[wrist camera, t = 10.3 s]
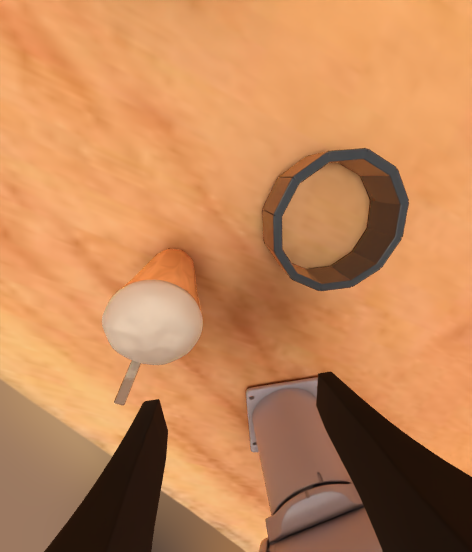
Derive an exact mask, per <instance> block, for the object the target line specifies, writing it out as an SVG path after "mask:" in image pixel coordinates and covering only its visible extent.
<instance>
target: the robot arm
mask: <svg viewBox="0 0 472 552" xmlns="http://www.w3.org/2000/svg"><path fill="white" fill-rule="evenodd" d="M250 396H251V397H250ZM246 400H247V412H248V424H249V436H250V447H251V451H252V452H259V456H260V461H261V466H262V471H263V476H264V481H265V486H266V491H267V496H268V501H269V506H270V511H271V517H269V518H266V520H265V521H266V527H267V532H268V538H265V539H264V540H263V541H262V542H261V545H260V549H259V552H472V477H471V476H469V475H467V474H466V473H464V472H463V471H461V470H459V469H458V468H456V467H454V466H453V465H451V464H450V463H448V462H446V461H445V460H443V459H442V458H440V457H439V456H437V455H435V454H434V453H432V452H431V451H429V450H428V449H427V448H425V447H424V446H422V445H421V444H419V443H418V442H416V441H415V440H414V439H412V438H411V437H409V436H408V435H407V434H405V433H404V432H403V431H401V430H400V429H399V428H397V427H396V426H395V425H393V424H392V423H391V422H390V421H388V420H387V419H386V418H384V417H383V416H382V415H381V414H379V413H378V412H377V411H376V410H375V409H373V408H372V407H371V406H370V405H369V404H367V403H366V402H365V401H364V400H363V399H362V398H360V397H359V396H358V395H357V394H356V393H355V392H354V391H352V390H351V389H350V388H349V387H348V386H347V385H346V384H345V383H343V382H342V381H341V380H340V379H339V378H338V377H337V376H336V375H335V374H333V373H332V372H325V373H319V374H318V377H315V378H308V379H302V380H296V381H290V382H283V383H277V384H271V385H264V386H258V387H252V388H248V389H247V390H246ZM167 437H168V429H167V426H166V422H165V419H164V415H163V411H162V408H161V404H160V401H159V399H157V400H151V401H145V402H144V403H143V404H142V406H141V408H140V410H139V412H138V414H137V415H136V417H135V419H134V421H133V423H132V425H131V426H130V428H129V430H128V432H127V433H126V435H125V437H124V438H123V440H122V442H121V443H120V445H119V447H118V448H117V450H116V452H115V453H114V455H113V457H112V458H111V460H110V462H109V463H108V464H107V466H106V468H105V469H104V471H103V472H102V474H101V475H100V477H99V478H98V480H97V481H96V483H95V484H94V486H93V487H92V489H91V490H90V492H89V493H88V495H87V496H86V497H85V499H84V500H83V501H82V503H81V504H80V506H79V507H78V508H77V510H76V511H75V512H74V514H73V515H72V516H71V518H70V519H69V521H68V522H67V523H66V525H65V526H64V527H63V528H62V530H61V531H60V532H59V533H58V535H57V536H56V537H55V539H54V540H53V541H52V543H51V544H50V545H49V546H48V548H47V549H46V550H45V551H44V552H151V549H152V540H153V533H154V526H155V520H156V514H157V508H158V502H159V497H160V491H161V485H162V479H163V473H164V467H165V461H166V452H167Z"/></svg>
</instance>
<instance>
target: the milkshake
mask: <svg viewBox="0 0 472 552" xmlns="http://www.w3.org/2000/svg"><path fill="white" fill-rule="evenodd" d="M102 326H103V329H104V332H105V334H106V336H107V339H108V341H109V343H110V345H111V346H112V348H113V349H114V350H115V351H117V352H118V353H119V354H121V355H123V356H124V357H126V358H128V359H130V360H132V361H131V363H130V365H129V368H128V370H127V372H126V375H125V377H124V379H123V382H122V384H121V386H120V389H119V391H118V393H117V396H116V398H115V401H114V403H116V404H120V405H124V404H125V402H126V400H127V397H128V395H129V392H130V390H131V387H132V385H133V382H134V380H135V377H136V375H137V372H138V369H139V367H140V364H141V363H143V364H150V365H163V364H167V363H170V362H172V361H175V360H177V359H179V358H181V357H183V356H184V355H186V354H187V353H188V352H190V350H191V349H192V348H193V347H194V346H195V344H196V343H197V341H198V340H199V338H200V336H201V333H202V328H203V318H202V314H201V308H200V303H199V297H198V293H197V286H196V276H195V269H194V264H193V259H192V258H191V257H190V256H188V255H187V254H186V253H185V252H184V251H183V250H178V249H172V248H168V249H166V250H164V251H162V252H160V253H158V254H156V255H155V256H154V257H153V258H152V259H151V260H150V261H149V262H148V263H147V264H146V266H145V267H144V268H143V269H142V270H141V271H140V272H139V273H138V274H137V275H136V276H135V277H134V278H132V279H131V280H130V281H129V282H128V283H127V284H126V285H125V286H123V287H122V288H121V289H120V290H118V291H117V292H116V293H115V294H114V295H113V296H112V298H111V299H110V300H109V302H108V304H107V306H106V308H105V311H104V314H103V317H102Z"/></svg>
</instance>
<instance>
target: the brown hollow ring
mask: <svg viewBox="0 0 472 552" xmlns="http://www.w3.org/2000/svg"><path fill="white" fill-rule="evenodd" d="M336 162H338V163H340V164H341V165H343V166H345V167H346V168H348V169H350V170H351V171H353V172H355V173H356V174H358V175H359V176H361V179H362V181H363V184H364V186H365V188H366V191H367V193H368V196H369V198H370V200H371V202H370V210H369V218H368V225H367V229H366V231H365V232H364V234H363V235H362V237H361V239H360V240H359V242H358V243H357V245H356V246H355V248H354V250H353V251H352V252H351V253H349V254H348V255H346V256H345V257H343V258H342V259H340V260H339V261H337V262H336V263H334V264H333V265H331V266H328V267H320V268H311V269H304V268H302V267H300V266H297V265H295V264H293V263H291V262H290V260H289V259H288V257H287V256H286V254H285V252H284V251H283V249H282V216H283V214H284V212H285V210H286V208H287V206H288V204H289V202H290V200H291V198H292V197H293V195H294V193H295V191H296V189H297V187H298V185H299V184H300V183H301V182H302V181H304V180H305V179H307V178H308V177H309V176H311V175H312V174H314V173H315V172H316V171H318V170H319V169H321V168H322V167H323V166H325V165H326V164H327V163H336ZM408 201H409V199H408V197H407V194H406V191H405V188H404V185H403V182H402V180H401V177H400V174H399V171H398V169H396V167H395V166H394V165H392V164H391V163H389V162H388V161H386V160H385V159H383V158H382V157H380V156H379V155H377V154H376V153H374V152H373V151H371V150H370V149H366V148H360V149H347V150H335V151H327V152H322V153H318V154H313V155H309V156H306V157H305V158H303V159H302V160H301V161H299V162H298V163H296V164H295V165H294V166H292V167H291V168H290V169H288V170H287V171H285V172H284V173H283V174H281V175H280V176H279V178H277V180H276V182H275V184H274V186H273V188H272V190H271V192H270V194H269V196H268V198H267V200H266V202H265V204H264V207H263V209H264V210H262V218H263V241H264V243H265V245H266V246H267V248H268V249H269V251H270V252H271V254H272V255H273V257H274V258H275V260H276V261H277V263H278V264H279V266H280V267H281V268H282V269H283V270H284V271H285V273H286V274H287V275H288V276H289V277H290V278H291V279H292V280H294V281H296V282H298V283H301V284H303V285H306V286H308V287H310V288H313V289H315V290H317V291H327V290H335V289H343V288H350V287H351V286H352V287H353V286H355V285H356V284H358V283H359V282H361V281H362V280H364V279H366V278H367V277H369V276H370V275H372V274H373V273H375V272H377V271H378V270H380V268H382V267H383V265H384V264H385V262H386V261H387V260H388V258H389V257H390V255H391V254H392V252H393V251H394V249H395V248H396V247H397V245H398V244H399V242H400V241H401V239H402V238H401V237H403V232H404V227H405V221H406V216H407V210H408V205H409V202H408Z"/></svg>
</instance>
